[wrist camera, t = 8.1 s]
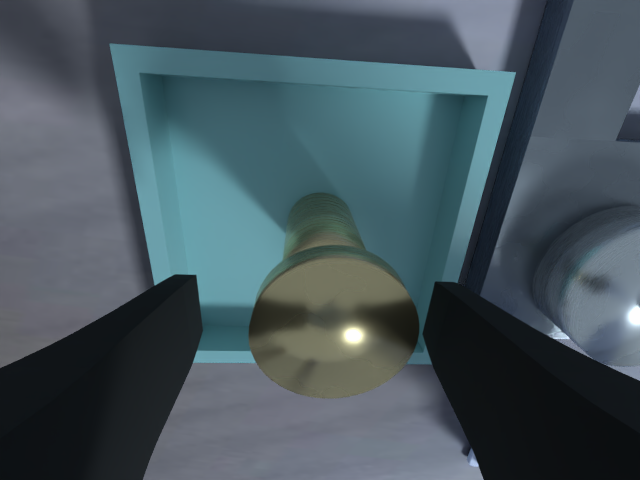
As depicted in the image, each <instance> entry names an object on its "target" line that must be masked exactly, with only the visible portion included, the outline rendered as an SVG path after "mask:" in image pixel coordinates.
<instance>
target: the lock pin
mask: <svg viewBox="0 0 640 480" xmlns="http://www.w3.org/2000/svg"><path fill="white" fill-rule="evenodd" d="M419 326H420V324H419V316H418V313H417V310H416V307H415V305H414V303H413V301H412V299H411V297H410V295H409V293H408V291H407V289H406V287H405V286H404V284H403V282H402V280H401V278H400V276H399V275H398V274H397V272H396V271H395V270H394V269H393V268H392V267H391V266H390V265H389V264H388V263H387V262H386V261H384V260H383V259H382V258H380V257H379V256H377V255H375V254H373V253H371V252H369V251H366V248H365V246H364V243H363V241H362V238H361V236H360V234H359V231H358V229H357V226H356V224H355V221H354V219H353V216H352V214H351V211H350V209H349V208H348V206H347V205H346V203H345V202H344V201H342V200H341V199H340V198H338V197H337V196H335V195H332V194H329V193H313V194H309V195H307V196H305V197H303V198H301V199H300V200H298V201H297V202H296V203H295V205H294V206H293V207H292V209H291V211H290V213H289V216H288V221H287V229H286V236H285V244H284V251H283V259H282V262H280V263H279V264H278V265H277V266H276V267H275V268H273V269H272V270H271V271H270V273H269V274H268V275H267V276H266V277H265V279H264V281H263V282H262V284H261V285H260V288H259V290H258V292H257V295H256V299H255V303H254V307H253V312H252V316H251V320H250V324H249V333H248V337H249V346H250V349H251V353H252V355H253V357H254V360H255V361H256V363H257V365H258V366H259V368H260V369H261V370H262V371H263V372H264V374H265V375H266V376H268V377H269V378H270V379H271V380H272V381H274V382H275V383H277V384H278V385H279V386H281V387H283V388H285V389H287V390H289V391H292V392H294V393H297V394H301V395H304V396H309V397H315V398H343V397H349V396H354V395H358V394H361V393H364V392H367V391H369V390H372V389H374V388H376V387H378V386H380V385H382V384H384V383H385V382H387V381H388V380H390V379H391V378H392V377H393V376H395V375H396V374H397V373H398V372H399V371H400V370H401V369H402V368H403V367H404V366H405V365H406V363H407V362H408V360H409V359H410V358H411V356H412V354H413V352H414V350H415V347H416V345H417V342H418V337H419Z"/></svg>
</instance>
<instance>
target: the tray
mask: <svg viewBox="0 0 640 480" xmlns="http://www.w3.org/2000/svg"><path fill="white" fill-rule="evenodd" d="M109 44H110V43H109ZM110 49H111V55H112V60H113V65H114V71H115V76H116V81H117V87H118V92H119V97H120V103H121V108H122V114H123V119H124V124H125V130H126V135H127V140H128V146H129V151H130V156H131V162H132V167H133V172H134V178H135V183H136V188H137V194H138V199H139V204H140V210H141V215H142V220H143V226H144V231H145V236H146V242H147V247H148V253H149V258H150V263H151V269H152V274H153V279H154V285H157V284H158V283H160V282H162V281H163V280H165V279H167V278H169V277H171V276H173V275H175V274H186V275H196V276H197V284H198V293H199V301H200V309H201V318H202V326H203V332H202V335H201V339H200V342H199V346H198V349H197V352H196V355H195V358H194V361H193V362H194V363H256V361H255V360H254V357H253V355H252V353H251V349H250V346H249V337H248V333H249V324H250V320H251V316H252V312H253V307H254V303H255V299H256V295H257V292H258V290H259V288H260V285H261V284H262V282H263V281H264V279H265V277H266V276H267V275H268V274H269V273H270V271H271V270H272V269H273V268H275V267H276V266H277V265H278V264H279V263H280V262H282V259H283V251H284V244H285V236H286V229H287V221H288V216H289V213H290V211H291V209H292V207H293V206H294V205H295V203H296V202H297V201H298V200H300V199H301V198H303V197H305V196H307V195H309V194H313V193H329V194H332V195H335V196H337V197H338V198H340V199H341V200H342V201H344V202H345V203H346V205H347V206H348V208H349V209H350V211H351V214H352V216H353V219H354V221H355V224H356V226H357V229H358V231H359V234H360V236H361V238H362V241H363V243H364V246H365V248H366V251H369V252H371V253H373V254H375V255H377V256H379V257H380V258H382V259H383V260H384V261H386V262H387V263H388V264H389V265H390V266H391V267H392V268H393V269H394V270H395V271H396V272H397V274H398V275H399V276H400V278H401V280H402V282H403V284H404V286H405V287H406V289H407V291H408V293H409V295H410V297H411V299H412V301H413V303H414V305H415V307H416V310H417V313H418V316H419V324H420V326H419V337H418V342H417V345H416V347H415V350H414V352H413V354H412V356H411V358H410V359H409V360H408V362H407V363H406V364H432V363H431V360H430V357H429V354H428V351H427V348H426V344H425V341H424V338H423V335H422V333H423V329H424V325H425V321H426V317H427V313H428V308H429V304H430V300H431V296H432V292H433V288H434V283H435V281H441V282H456V283H458V280H459V276H460V273H461V269H462V265H463V262H464V258H465V255H466V251H467V247H468V244H469V240H470V237H471V233H472V229H473V226H474V222H475V219H476V215H477V211H478V208H479V204H480V201H481V197H482V193H483V190H484V186H485V183H486V179H487V175H488V172H489V168H490V165H491V161H492V157H493V154H494V150H495V147H496V143H497V139H498V136H499V132H500V129H501V125H502V121H503V118H504V114H505V111H506V107H507V103H508V100H509V96H510V93H511V89H512V85H513V82H514V78H515V75H516V72H504V71H490V70H476V69H462V68H448V67H434V66H419V65H405V64H391V63H377V62H363V61H349V60H335V59H321V58H307V57H293V56H279V55H265V54H251V53H237V52H223V51H208V50H194V49H180V48H166V47H152V46H138V45H124V44H110Z"/></svg>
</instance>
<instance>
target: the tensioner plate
mask: <svg viewBox="0 0 640 480" xmlns="http://www.w3.org/2000/svg"><path fill="white" fill-rule="evenodd" d="M639 85H640V0H548V2H547V5H546V9H545V12H544V15H543V19H542V22H541V26H540V29H539V33H538V36H537V40H536V43H535V46H534V50H533V53H532V57H531V60H530V64H529V67H528V71H527V74H526V77H525V81H524V84H523V88H522V91H521V95H520V98H519V102H518V105H517V108H516V112H515V115H514V119H513V122H512V126H511V129H510V133H509V136H508V139H507V143H506V146H505V150H504V153H503V157H502V160H501V164H500V167H499V170H498V174H497V177H496V181H495V184H494V188H493V191H492V195H491V198H490V201H489V205H488V208H487V212H486V215H485V219H484V222H483V226H482V229H481V232H480V236H479V239H478V243H477V246H476V250H475V253H474V257H473V260H472V263H471V267H470V270H469V274H468V277H467V281H466V284H465V287H466V288H467V289H469V290H471V291H473V292H474V293H476V294H478V295H479V296H481V297H483V298H484V299H486V300H488V301H489V302H491V303H493V304H494V305H496V306H498V307H499V308H501V309H503V310H504V311H506V312H507V313H509V314H511V315H512V316H514V317H516V318H518V319H519V320H521V321H523V322H524V323H526V324H528V325H530V326H531V327H533V328H535V329H536V330H538V331H540V332H542V333H544V334H545V335H547V336H549V337H551V338H553V339H571V340H572V341H573V342H574V343H576V344H577V345H578V346H579V347H580V348H581V349H582V350H583V351H584V352H586V353H587V354H588V355H589V356H590V357H592V358H593V359H594V360H596V361H598V362H600V363H603V364H607V365H611V366H620V367H631V366H640V140H625V139H617V136H618V134H619V131H620V129H621V127H622V124H623V122H624V120H625V117H626V115H627V113H628V110H629V108H630V106H631V103H632V101H633V99H634V96H635V94H636V92H637V89H638V87H639Z"/></svg>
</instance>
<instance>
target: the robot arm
mask: <svg viewBox="0 0 640 480" xmlns="http://www.w3.org/2000/svg"><path fill="white" fill-rule="evenodd" d="M202 332H203V326H202V318H201V309H200V301H199V293H198V284H197V276H196V275H186V274H175V275H173V276H171V277H169V278H167V279H165V280H163V281H162V282H160V283H158V284H157V285H155V286H153V287H152V288H150V289H148V290H147V291H145V292H144V293H142V294H140V295H139V296H137V297H135V298H134V299H132V300H130V301H129V302H127V303H125V304H124V305H122V306H120V307H119V308H117V309H115V310H114V311H112V312H110V313H109V314H107V315H105V316H103V317H101V318H100V319H98V320H96V321H94V322H92V323H91V324H89V325H87V326H85V327H83V328H82V329H80V330H78V331H76V332H74V333H73V334H71V335H69V336H67V337H65V338H63V339H61V340H59V341H57V342H55V343H53V344H51V345H49V346H47V347H45V348H43V349H41V350H39V351H37V352H35V353H32V354H30V355H28V356H26V357H24V358H22V359H20V360H18V361H15V362H13V363H11V364H9V365H7V366H4V367H2V368H0V480H143V477H144V474H145V471H146V469H147V466H148V463H149V460H150V457H151V455H152V453H153V450H154V448H155V445H156V443H157V441H158V438H159V436H160V434H161V432H162V429H163V427H164V425H165V423H166V421H167V419H168V416H169V414H170V412H171V410H172V408H173V406H174V403H175V401H176V399H177V397H178V395H179V393H180V390H181V388H182V386H183V384H184V382H185V379H186V377H187V375H188V373H189V370H190V368H191V366H192V364H193V361H194V358H195V355H196V352H197V349H198V346H199V342H200V339H201V335H202ZM422 335H423V338H424V341H425V344H426V348H427V351H428V354H429V357H430V360H431V363H432V365H433V367H434V370H435V372H436V374H437V376H438V378H439V380H440V382H441V385H442V387H443V389H444V391H445V393H446V395H447V397H448V399H449V401H450V403H451V405H452V407H453V410H454V412H455V414H456V416H457V418H458V420H459V422H460V424H461V426H462V428H463V430H464V432H465V434H466V437H467V439H468V441H469V443H470V446H471V450H470V452H469V455H468V457H467V461H468V463H469V465H471V466H479V468H480V471H481V473H482V476H483V479H484V480H640V381H639V380H637V379H634V378H632V377H630V376H628V375H625V374H623V373H621V372H619V371H616V370H614V369H612V368H610V367H608V366H606V365H604V364H602V363H600V362H598V361H596V360H594V359H591V358H589V357H587V356H585V355H583V354H581V353H579V352H577V351H575V350H573V349H571V348H569V347H567V346H566V345H564V344H562V343H560V342H558V341H556V340H555V339H553V338H551V337H549V336H547V335H545V334H544V333H542V332H540V331H538V330H536V329H535V328H533V327H531V326H530V325H528V324H526V323H524V322H523V321H521V320H519V319H518V318H516V317H514V316H512V315H511V314H509V313H507V312H506V311H504V310H503V309H501V308H499V307H498V306H496V305H494V304H493V303H491V302H489V301H488V300H486V299H484V298H483V297H481V296H479V295H478V294H476V293H474V292H473V291H471V290H469V289H467V288H466V287H464V286H462V285H460V284H458V283H456V282H441V281H435V283H434V288H433V292H432V296H431V300H430V304H429V308H428V313H427V317H426V321H425V325H424V329H423V333H422Z"/></svg>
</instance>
